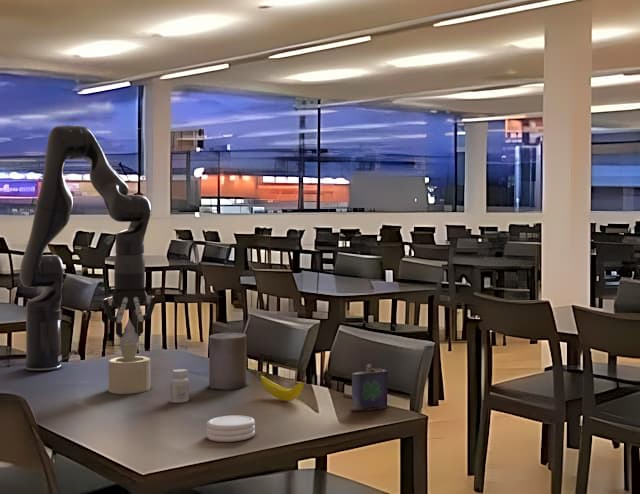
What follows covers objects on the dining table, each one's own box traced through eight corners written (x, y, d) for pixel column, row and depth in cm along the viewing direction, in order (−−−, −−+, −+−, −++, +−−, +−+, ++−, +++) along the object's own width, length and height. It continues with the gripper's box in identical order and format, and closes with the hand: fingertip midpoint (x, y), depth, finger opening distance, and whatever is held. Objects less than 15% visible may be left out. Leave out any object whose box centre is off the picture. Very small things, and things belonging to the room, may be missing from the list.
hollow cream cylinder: (106, 388, 253) (106, 357, 253) (146, 384, 258) (146, 355, 258) (111, 395, 244) (111, 364, 244) (153, 391, 249) (153, 360, 249)
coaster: (241, 428, 211) (241, 412, 211) (263, 437, 203) (263, 420, 203) (198, 435, 204) (198, 419, 204) (219, 445, 196) (219, 428, 196)
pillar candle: (242, 381, 262) (242, 327, 262) (249, 388, 254) (250, 331, 254) (205, 384, 258) (205, 329, 258) (212, 391, 250) (212, 333, 249)
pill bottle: (192, 400, 239) (192, 369, 239) (181, 403, 235) (181, 372, 235) (177, 398, 240) (177, 368, 240) (166, 402, 236) (166, 371, 236)
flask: (354, 412, 227) (354, 366, 226) (349, 409, 229) (349, 365, 229) (389, 407, 231) (389, 363, 231) (384, 405, 234) (384, 361, 234)
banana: (265, 393, 247) (265, 369, 247) (309, 405, 234) (309, 379, 234) (255, 395, 245) (255, 370, 245) (299, 407, 232) (299, 380, 232)
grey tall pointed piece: (142, 373, 253) (142, 316, 253) (134, 377, 248) (134, 319, 248) (124, 372, 254) (124, 316, 254) (115, 376, 249) (115, 319, 249)
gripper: (155, 269, 257) (155, 332, 258) (99, 270, 251) (98, 336, 251) (160, 271, 251) (160, 336, 251) (102, 273, 244) (102, 340, 244)
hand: (129, 335), depth 251 cm, fingers closed on grey tall pointed piece, 4 cm apart
